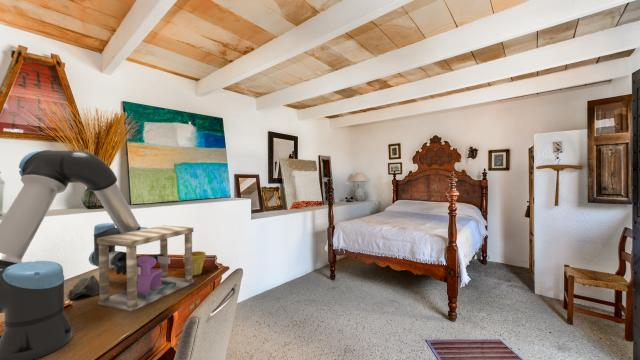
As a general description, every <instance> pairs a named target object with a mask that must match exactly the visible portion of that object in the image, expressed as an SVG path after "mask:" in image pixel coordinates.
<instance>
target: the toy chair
mask: <svg viewBox="0 0 640 360" xmlns="http://www.w3.org/2000/svg"><path fill="white" fill-rule="evenodd" d="M139 256H140V255H139ZM137 264H138V265H137V266H138V267H141V274H137V285H138V287H137V293H141V294H149V293H150V288H149V286H162V283H161V275H162V269H160V268H154V269H153V267H155V266H156V264H157V262H156V259H155V258H153V257H151V256H140V257H138V258H137Z"/></svg>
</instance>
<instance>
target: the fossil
mask: <svg viewBox="0 0 640 360" xmlns="http://www.w3.org/2000/svg"><path fill="white" fill-rule="evenodd" d="M81 295H87V296H88V295H89V296H92V297H94V296H97V295H100V292H99V279H97V278H96V277H95V275H93V274H90V273H88V274H86V275H85V276H84V277H82V278H80V279H79V280H78V281H77V283H75V284H74V285H73V287H72V288H71V289H70V290H69V291H68V294H67V298H68V299H69V300H74V299H76V298H78V297H80V296H81Z"/></svg>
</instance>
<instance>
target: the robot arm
mask: <svg viewBox="0 0 640 360" xmlns="http://www.w3.org/2000/svg"><path fill="white" fill-rule="evenodd" d="M18 169H20V170H19V171H18V172H19V175H20V177H21V178H20V181H21V182H22V184H23V186H22V187H21V188H20V191H19V192H18V194H17V195H16V197H15V199H14V200H13V202H12V203H11V205H10V207H9V208H8V209H7V211H6V213H5V215H4V216H3V218H2V219H1V221H0V314H4V329H3V332H2V334H1V336H0V360H35V359H38V358H41V357H42V358H43V356H46V355H49V354H51V353H54V352H55V351H57V350H59V349H61V348H63V347H64V346H66V345H67V344H68V343H69V342H71V340H72V338H73V327H72V325H71V323H70V321H69V319H68V318H67V315H66V313H65V275H64V269H63V266H62V265H61V264H60V263H59V262H55V261H51V260H36V261H22V260H23V258H24V256H25V254H26V252H27V250H28V249H29V247H30V244H31V243H32V240H33V239H34V238H35V236H36V233H37V232H38V230H39V228H40V226H41V225H42V222H43V221H44V219H45V217H46V215H47V213H48V211H49V210H50V208H51V206H52V205H53V202H54V200H55V199H56V196H57V195H58V194H61V193H63V192H65V190H67V188H68V185H69V184H70V183H71V184H72V183H74V184H75V183H77V184H78V183H80V184H83V185H85V186H86V188H87V189H88V191H91V192H93V193H94V194H95V196H96V197H97V199H98V200H99V202H100V203H101V205H102V207H103V208H104V210H105V211H106V213H107V214H108V216H109V217H110V219H111V220H112V222H106V223H104V222H103V223H98V224H96V225H94V229H93V246H94V247H93V251H92V252H91V253H90V255H89V256H88V262H89V263H90V264H91V265H92V266H95V267H97V268H99V244H97V238H100V237H106V236H111V235H116V234H121V233H127V232H132V231H137V230H142V229H148V228H149V227H146V226H145V227H144V226H141V225H140V224H139V223H138V221H137V219H136V217H135V215H134V213H133V211H132V209H131V208H130V206H129V204H128V202H127V200H126V199H125V197H124V195H123V193H122V191H121V190H120V188H119V186H118V183H117V182H118V178H117V176H116V174H115V172H114V171H113V169H112V168H111V167H110V166H109V165H108V164H107V163H106V162H105V161H104V160H102V159H101V158H100V157H98V155H95V154H93V153H91V152H88V151H85V150H80V149H78V150H52V149H51V150H49V149H45V150H44V149H43V150H35V151H32V152H29V153H27V154H26V155H25V156H23V157H22V159H21V160H20V162H19V165H18ZM140 256H151V257H153V258H155V259H156V263H159V264H160V263H165V264H168V265H169V264H171V257H170V256H168V257H163V254H160V253H158V254H140V255H139V256H137V255H136V257H137V258H138V257H140ZM109 269H111V270H112V271H113V270H114V272H115V273H116V275H121V273H122V276H125V275H126V276H127V258H126V251H118V250H116V246H115V245H109ZM141 272H142V269H141V266H139V265H138V264H137V274H141Z"/></svg>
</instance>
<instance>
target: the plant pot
mask: <svg viewBox="0 0 640 360" xmlns="http://www.w3.org/2000/svg"><path fill="white" fill-rule="evenodd" d="M206 254H207V253H206V252H205V251H203V250H202V251H201V250H197V251H192V276H198V275H201V274H202V272H203V267H204V263H205V261H206V256H207V255H206ZM182 262H183V264H185V253H183V255H182Z"/></svg>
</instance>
